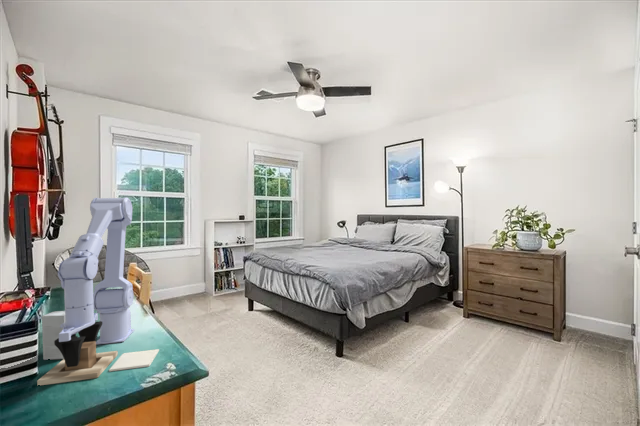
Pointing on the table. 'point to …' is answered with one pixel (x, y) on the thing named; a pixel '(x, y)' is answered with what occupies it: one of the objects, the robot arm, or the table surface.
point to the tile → (134, 360)
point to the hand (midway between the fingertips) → (81, 358)
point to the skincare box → (52, 334)
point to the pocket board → (61, 375)
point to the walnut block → (85, 357)
